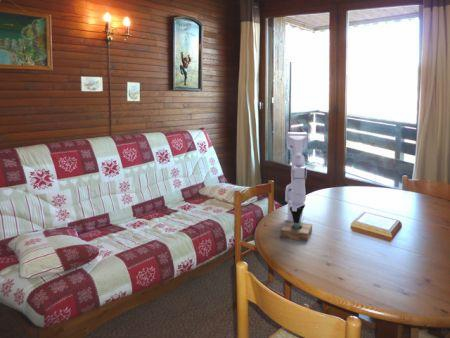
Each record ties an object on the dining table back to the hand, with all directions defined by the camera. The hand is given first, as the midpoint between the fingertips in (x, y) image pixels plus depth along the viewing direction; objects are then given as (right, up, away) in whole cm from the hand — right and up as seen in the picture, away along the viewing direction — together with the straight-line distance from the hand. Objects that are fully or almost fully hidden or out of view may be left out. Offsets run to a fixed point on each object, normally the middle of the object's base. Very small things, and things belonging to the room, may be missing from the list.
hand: (297, 221), depth 177 cm
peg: (0, -3, +1) cm, 3 cm away
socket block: (0, -6, +1) cm, 6 cm away
